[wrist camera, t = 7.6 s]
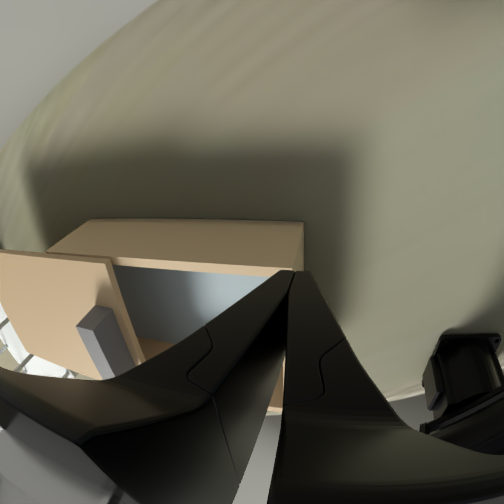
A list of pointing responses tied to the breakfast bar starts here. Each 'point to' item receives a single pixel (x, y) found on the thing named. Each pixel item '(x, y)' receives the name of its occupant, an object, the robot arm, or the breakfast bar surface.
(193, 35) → the breakfast bar surface
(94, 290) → the lid
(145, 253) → the box
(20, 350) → the file sorter
